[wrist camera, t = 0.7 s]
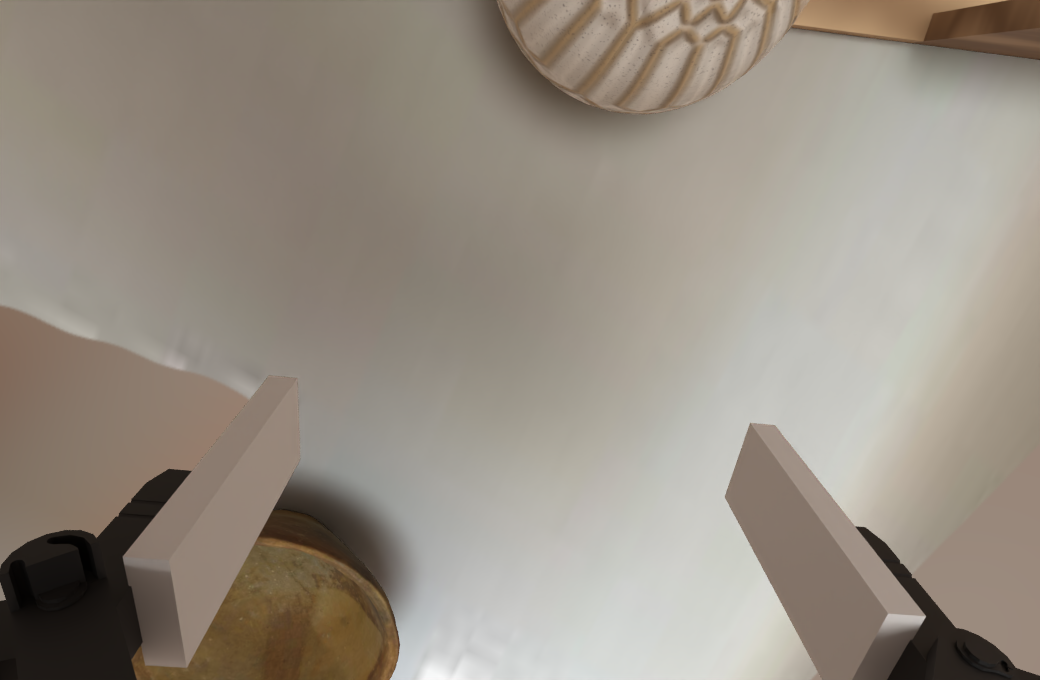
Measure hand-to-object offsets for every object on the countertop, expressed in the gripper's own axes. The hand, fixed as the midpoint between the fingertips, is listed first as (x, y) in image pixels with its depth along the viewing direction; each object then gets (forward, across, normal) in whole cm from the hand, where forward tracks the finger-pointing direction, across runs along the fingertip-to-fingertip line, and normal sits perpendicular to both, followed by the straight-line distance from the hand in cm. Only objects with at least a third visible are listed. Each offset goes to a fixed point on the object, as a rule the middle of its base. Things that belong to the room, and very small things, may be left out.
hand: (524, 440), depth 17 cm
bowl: (+26, -16, -32) cm, 44 cm away
